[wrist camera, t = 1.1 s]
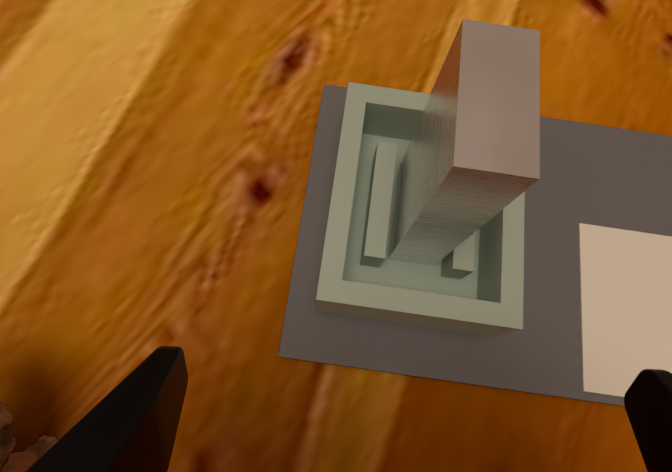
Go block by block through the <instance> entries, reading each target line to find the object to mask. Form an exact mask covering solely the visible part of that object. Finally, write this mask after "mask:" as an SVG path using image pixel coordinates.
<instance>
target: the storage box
mask: <svg viewBox="0 0 672 472" xmlns="http://www.w3.org/2000/svg"><path fill="white" fill-rule="evenodd" d="M429 96H430V94H425V93H418V92H412V91H405V90H398V89H392V88H385V87H378V86H372V85H365V84H358V83H351V82H349V83H348V89H347V96H346V103H345V109H344V116H343V123H342V129H341V136H340V143H339V149H338V156H337V163H336V169H335V176H334V183H333V189H332V196H331V203H330V209H329V216H328V223H327V229H326V236H325V243H324V249H323V256H322V263H321V269H320V276H319V282H318V289H317V296H316V309H315V311H320V312H327V313H334V314H341V315H348V316H355V317H362V318H369V319H376V320H383V321H390V322H397V323H404V324H411V325H418V326H424V327H431V328H438V329H445V330H452V331H459V332H466V333H473V334H480V335H487V336H488V335H494V334H500V333H505V332H511V331H517V330H523V288H524V208H525V191H524V192H523V193H522V194H521V195H519V196H518V197H517V198H516V199H515V200H513V201H512V202H511V203H510V204H509V205H507V206H506V207H505V208H504V209H502V210H501V211H500V212H499V213H498V214H496V215H495V216H494V217H493V218H492V219H490V220H489V221H488V222H487V223H486V224H484V225H483V226H482V227H481V228H479V229H478V230H477V231H476V232H475V233H473V234H472V235H471V236H470V237H469V238H467V239H466V240H465V241H464V242H462V243H461V244H460V245H459V246H458V247H456V248H455V249H454V250H453V251H452V252H450V253H449V254H448V255H447V256H445V257H444V258H443V259H442V260H441V261H439V262H438V263H437V264H436V265H435V266H429V265H423V264H416V263H409V262H402V261H395V260H388V252H389V243H390V233H391V224H392V214H393V205H394V195H395V186H396V176H397V170H398V168H399V166H400V163H401V161H402V159H403V156H404V154H405V152H406V149H407V147H408V145H409V143H410V140H411V138H412V136H413V133H414V131H415V129H416V126H417V124H418V122H419V119H420V117H421V115H422V112H423V110H424V108H425V106H426V103H427V101H428V99H429Z"/></svg>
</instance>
